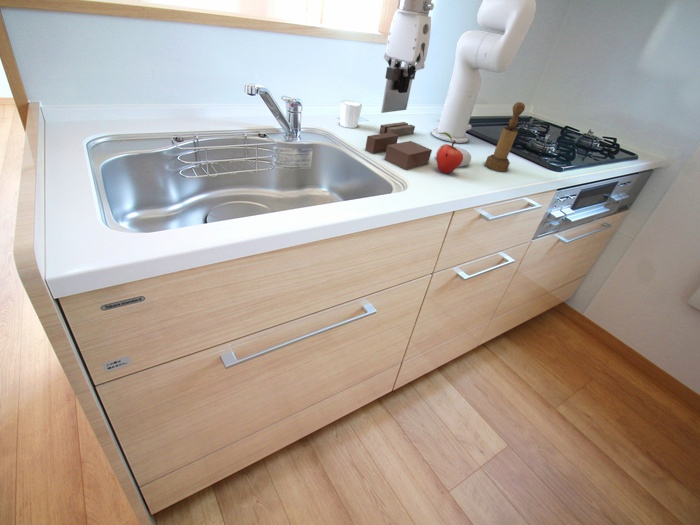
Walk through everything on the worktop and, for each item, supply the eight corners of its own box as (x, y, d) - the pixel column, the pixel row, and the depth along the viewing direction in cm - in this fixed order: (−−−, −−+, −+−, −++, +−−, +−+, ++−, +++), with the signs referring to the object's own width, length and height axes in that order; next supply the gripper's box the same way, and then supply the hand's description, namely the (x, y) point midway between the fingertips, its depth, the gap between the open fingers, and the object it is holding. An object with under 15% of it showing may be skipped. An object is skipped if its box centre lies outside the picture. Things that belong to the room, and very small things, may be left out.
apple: (454, 168, 102) (466, 132, 96) (460, 178, 96) (472, 140, 90) (427, 164, 101) (437, 128, 95) (431, 174, 96) (442, 136, 90)
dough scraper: (402, 108, 103) (410, 66, 97) (408, 110, 102) (417, 68, 96) (378, 111, 97) (385, 66, 91) (384, 114, 96) (392, 69, 90)
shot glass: (340, 120, 125) (342, 99, 121) (359, 124, 125) (363, 102, 121) (336, 126, 119) (339, 103, 115) (357, 129, 119) (360, 107, 115)
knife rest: (402, 129, 127) (404, 121, 126) (413, 133, 125) (415, 126, 123) (379, 132, 120) (380, 124, 118) (390, 137, 117) (392, 129, 116)
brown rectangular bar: (388, 145, 110) (390, 132, 108) (395, 148, 109) (398, 135, 106) (365, 149, 104) (367, 135, 102) (372, 153, 102) (375, 139, 100)
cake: (407, 154, 106) (410, 140, 104) (428, 163, 102) (432, 149, 100) (384, 159, 100) (387, 145, 98) (405, 169, 96) (409, 154, 94)
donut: (434, 164, 103) (470, 170, 102) (437, 152, 101) (474, 158, 100) (435, 153, 111) (468, 159, 110) (437, 141, 109) (471, 147, 108)
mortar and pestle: (511, 172, 106) (538, 106, 96) (493, 171, 104) (518, 105, 94) (498, 163, 111) (522, 100, 101) (480, 162, 109) (503, 98, 99)
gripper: (451, 12, 84) (430, 98, 94) (398, 3, 92) (385, 83, 103) (431, 9, 79) (412, 100, 90) (378, 0, 88) (366, 84, 99)
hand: (398, 90), depth 96 cm, fingers closed on dough scraper, 2 cm apart
